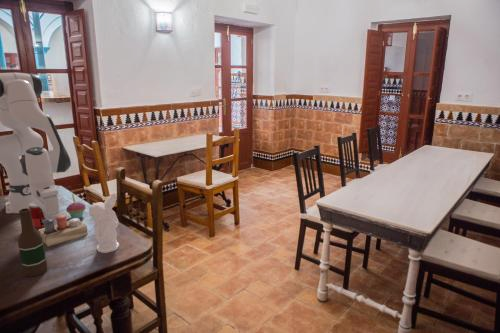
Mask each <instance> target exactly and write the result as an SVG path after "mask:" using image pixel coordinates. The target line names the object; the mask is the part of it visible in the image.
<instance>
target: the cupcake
mask: <svg viewBox="0 0 500 333" xmlns="http://www.w3.org/2000/svg"><path fill="white" fill-rule="evenodd" d="M71 194H72V195H71V196H72V201H73V202H72V203H70V204H68V205H67V207H66V210H65V211H66V213H68V214H69V215H70V218H71V219H74V218H79V219H81V218H82V217H83V215H84V211H85V210H86V209H87V208H86V204H85V203H83V202H76V201H75V196H74V194H73V192H71Z"/></svg>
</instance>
